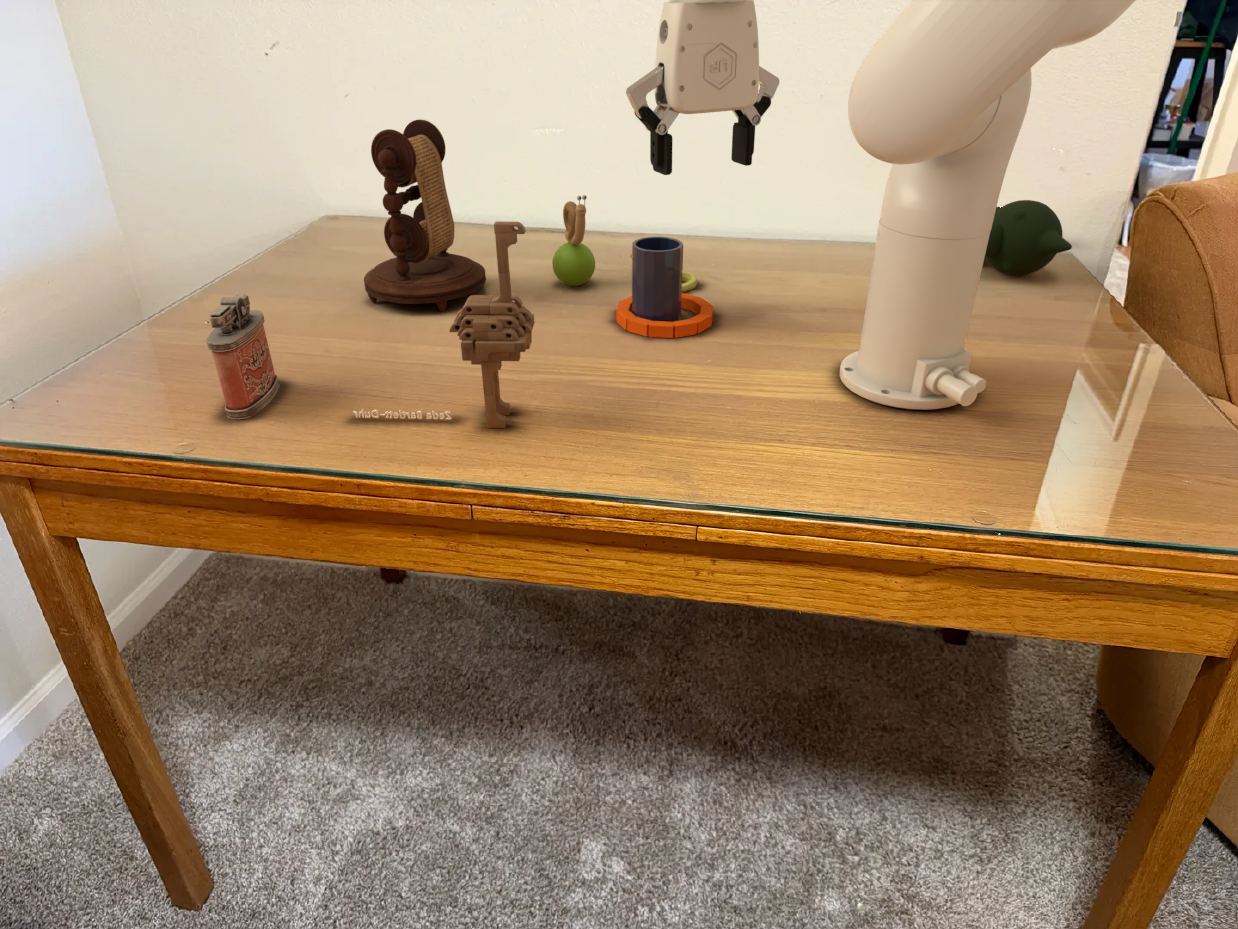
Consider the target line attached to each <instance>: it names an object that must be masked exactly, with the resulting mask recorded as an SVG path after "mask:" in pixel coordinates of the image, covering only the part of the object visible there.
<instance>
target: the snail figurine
mask: <svg viewBox="0 0 1238 929" xmlns="http://www.w3.org/2000/svg"><path fill="white" fill-rule="evenodd" d="M587 198H588V197H587V195H586V194H583V195H582V196H581V195H577V196H576V199H577V201H578V204H577V203H575V202H574V201H567V202H566V203H565V204H564V205H563V209H562V217H563V218H562V219H563V223H564V227H565V229H564V237H565V240H566V242H565V243H563V244H562V245H560V246H559V247H558V248H557V249H556V250H555V252H554V254H553V257H552V263H551V264H552V270H553V273H554V275H555V277H557V279H558V280H559V281H560V283H562V284H565V285H567V286H571V287H577V286H581V285H583V284H585V283H587V282H588V281H590V279H591V278H592V276H593V275H594V273H595V270H596V258H595V255H594V253H593V252H592V250H591V249H590V247H588V246H587V245H585V244H584V243H582V242H584V241H583V240H584V237H585V232H586V213H587V207H586V200H587ZM581 200H583V202H584V203H581Z"/></svg>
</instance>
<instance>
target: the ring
mask: <svg viewBox="0 0 1238 929" xmlns="http://www.w3.org/2000/svg"><path fill="white" fill-rule="evenodd" d="M681 309H683V310H687V311H691V312H693V313H694V314H696V315H694V316H692V317H690V318H687V319H686V318H685V319H680V320H679V321H673V322H666V321H651V320H647V319H644V318H640V317H636V316H635V315H634V314H633V313H632V295H630V296H628V297H626V298H624V299H622V300H620V301H619V302H618V305H617V307H616V315H615V318H616V319H615V321H616V323H617V324H618V325H619V326H620V327H621V328H622V329H624V330H625V331H627V332H628V333H633V334H637V335H640V336H643V337H648V338H662V339H663V338H666V339H674V338H675V339H677V338H682V337H689V336H695V335H697V334H700V333H702V332H703V331H705V330H707V329H709V328H710V327H712V325H713V317H714V316H713V313H714V306H713V304H711V303H710V302H709V301H707V300H706V299H704V298H703V297H700V296H698V295H693V294H689V293H686V292H682V297H681Z"/></svg>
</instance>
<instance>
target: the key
mask: <svg viewBox="0 0 1238 929" xmlns="http://www.w3.org/2000/svg"><path fill="white" fill-rule="evenodd" d="M629 257H630V258H632V253H629ZM697 283H698V278H697V276H696V275H695V274H694V273H693V272H690V271H686V270H682V293H686V292H689V291H692V290H694V289H695V288H696V287H697Z"/></svg>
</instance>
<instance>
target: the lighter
mask: <svg viewBox="0 0 1238 929" xmlns="http://www.w3.org/2000/svg"><path fill="white" fill-rule="evenodd" d="M219 304H220V305H219V306H217V307H216V308H215V309H214V310H213V311H212V312H211V313H210V314H209V321H210V322H209V323H210V325H211V328H212V329H213V330H212V331H211V332H210V334H209V335H208V337H207V338H206V340H205V341H206V342H205V343H206V346H207V349H208V350H209V351H210V352H211V355H212V358H213V361H214V365H215V369H216V373H217V376H218V380H219V383H220V388H221V391H222V394H223V399H224V402H225V405H224V411H225V414H226V417H227V418H228V419H231V420H244V419H248V418H251V417H253V416H255V415H256V414H258V413H259V412H261V411H262V410H263V409H264V408H265V407H266V406H267V405H268V404H269V403H270V402H271V401H272V400H273V398H274V397H275V396H276V394H277V393H278V390H279V388H280V386H281V385H280V380H279V376H278V375H277V374H276V372H275V368H274V364H273V359H272V355H271V352H270V347H269V342H268V339H267V335H266V329H265V326H264V324H265V316H264V313H263V312H262V311H261V310H256V309H255V310H253V309H252V310H250V309H251V306H250V305H251V301H250V298H249V294H248V293H245V292H244V293H243V292H241V293H235V294H234V295H233V296H232V297H227V296H226V297H225V296H224V297H222V298H221V299H220V303H219Z"/></svg>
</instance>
